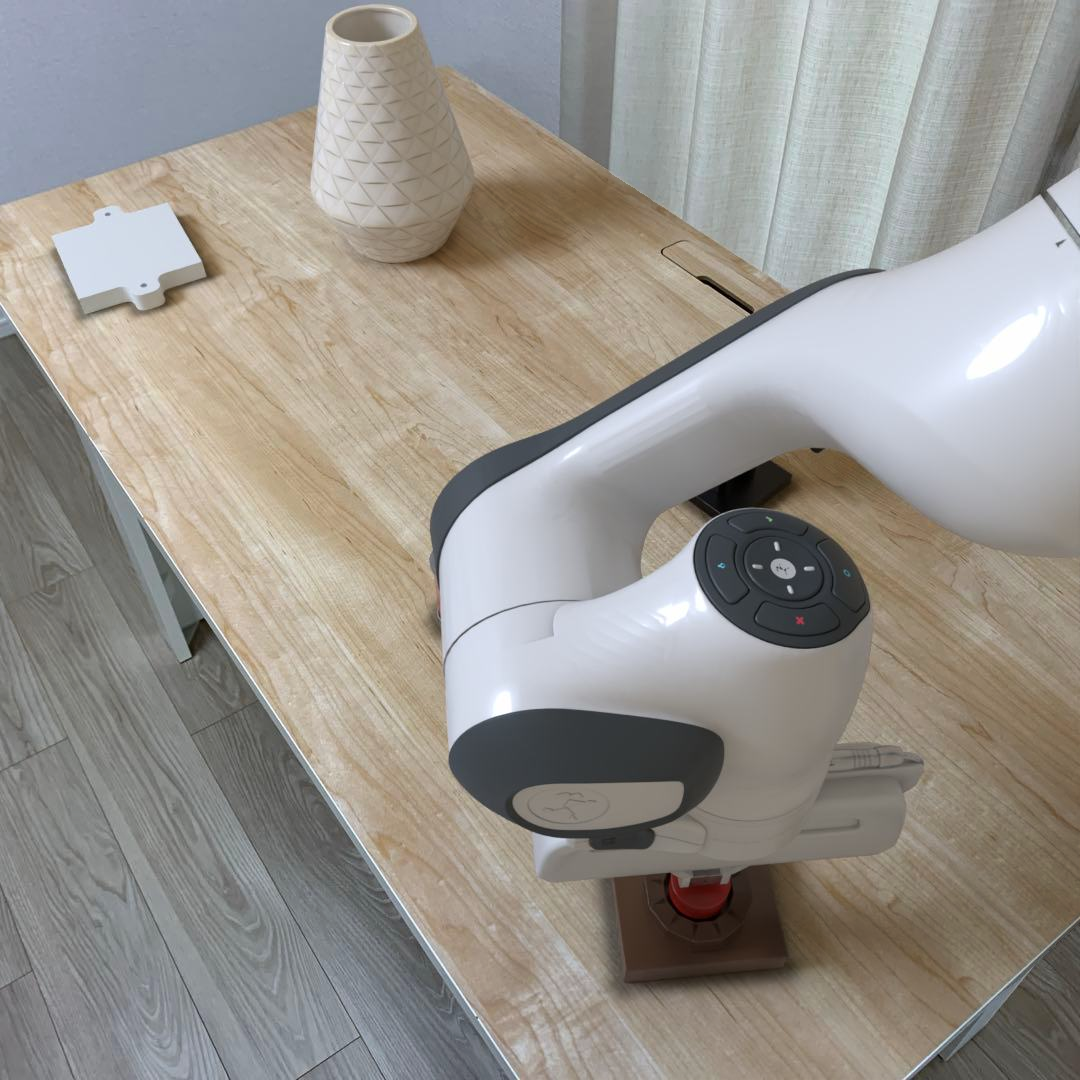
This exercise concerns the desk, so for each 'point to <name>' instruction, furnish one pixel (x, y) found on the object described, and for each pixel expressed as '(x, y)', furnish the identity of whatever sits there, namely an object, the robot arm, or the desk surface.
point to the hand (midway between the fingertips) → (700, 873)
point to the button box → (697, 929)
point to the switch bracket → (744, 490)
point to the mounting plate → (128, 257)
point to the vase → (386, 138)
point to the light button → (698, 898)
